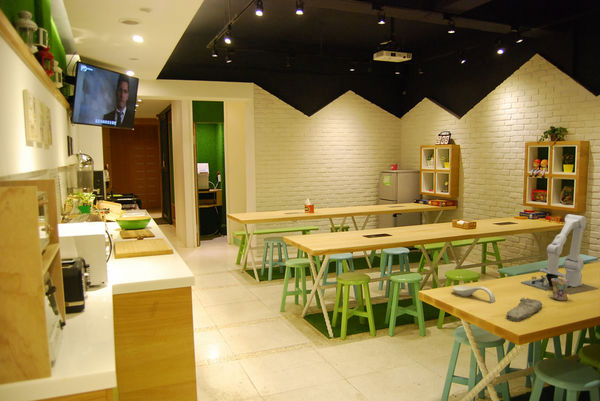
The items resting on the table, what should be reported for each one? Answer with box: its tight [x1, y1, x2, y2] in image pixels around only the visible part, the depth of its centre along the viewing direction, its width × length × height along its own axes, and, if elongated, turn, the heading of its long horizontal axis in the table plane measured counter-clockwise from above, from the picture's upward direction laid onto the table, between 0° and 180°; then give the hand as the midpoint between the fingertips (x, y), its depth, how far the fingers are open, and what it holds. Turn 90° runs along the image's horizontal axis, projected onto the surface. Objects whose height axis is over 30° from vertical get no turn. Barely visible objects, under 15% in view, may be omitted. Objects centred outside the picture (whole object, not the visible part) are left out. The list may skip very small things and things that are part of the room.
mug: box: [550, 277, 570, 301], centre depth 255 cm, size 12×9×11 cm
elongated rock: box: [505, 297, 543, 323], centre depth 232 cm, size 35×5×10 cm
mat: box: [520, 279, 553, 291], centre depth 279 cm, size 15×16×1 cm
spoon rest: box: [452, 285, 496, 304], centre depth 255 cm, size 24×12×7 cm, turn 43°
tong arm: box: [540, 275, 548, 286], centre depth 279 cm, size 13×4×3 cm, turn 147°
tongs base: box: [529, 277, 545, 284], centre depth 281 cm, size 12×3×3 cm, turn 119°
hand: (551, 286), depth 271 cm, fingers closed
